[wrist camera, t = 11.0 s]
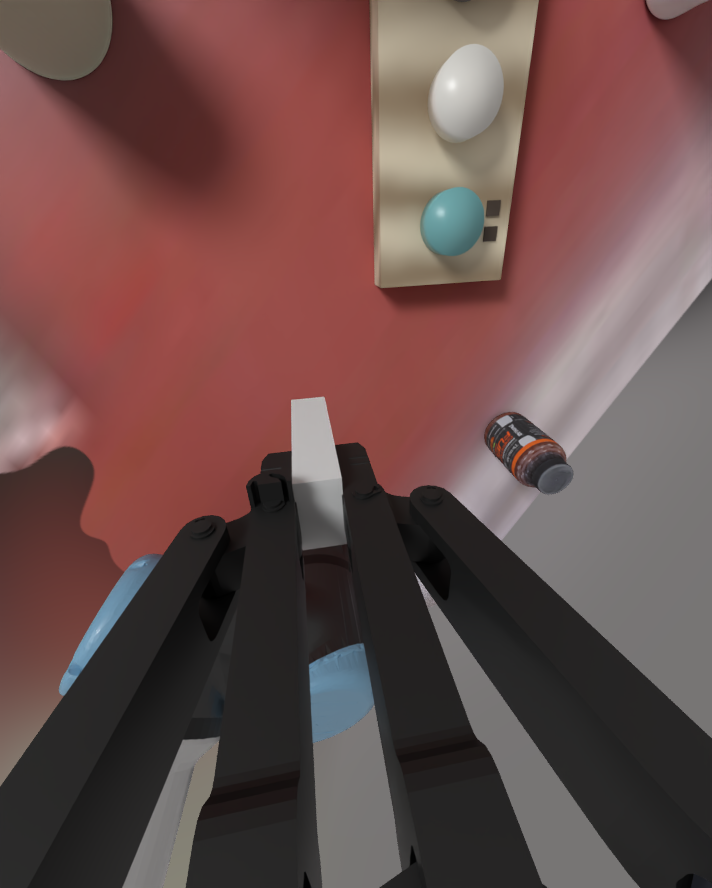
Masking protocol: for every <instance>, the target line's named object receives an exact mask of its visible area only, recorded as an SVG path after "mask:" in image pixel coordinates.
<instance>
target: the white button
mask: <svg viewBox="0 0 712 888" xmlns="http://www.w3.org/2000/svg"><path fill="white" fill-rule="evenodd" d="M503 89H504V80H503V73H502V69H501V66H500V63H499V61H498V59H497V58H496V56H495V55H494V53H493V52H492V51H491V50H489V49H488V48H487V47H485V46H483V45H479V44H469V45H465V46H463V47H461V48H460V49H458V50H457V51H455V52H454V53H453V54H452V55H451V56H450V58H449V59H448V60H447V61H446V62H445V63H444V64H443V65H442V66H441V68H440V69H439V70H438V72H437V73H436V75H435V77H434V78H433V81H432V83H431V86H430V90H429V95H428V113H429V118H430V121H431V124H432V126H433V128H434V130H435V131H436V133H437V134H438V135H439V136H440V137H441V138H442V139H444V140H446V141H448V142H451V143H461V142H464V141H466V140H469V139H470V138H472V137H474V136H476V135H478V134H480V133H481V132H483V131H484V130H485V129H486V128H487V127H488V126H489V125H490V124H491V123H492V121H493V120H494V118H495V117H496V115H497V113H498V111H499V108H500V105H501V102H502V97H503Z"/></svg>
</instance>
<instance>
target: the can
mask: <svg viewBox="0 0 712 888" xmlns="http://www.w3.org/2000/svg"><path fill="white" fill-rule="evenodd" d="M111 34H112V8H111V1H110V0H0V49H2V50H3V51H4V52H5V53H6V54H7V55H8V56H10V57H11V58H12V59H13V60H15V61H16V62H17V63H19V64H20V65H22V66H23V67H25V68H26V69H28V70H30V71H32V72H34V73H36V74H38V75H41V76H44V77H47V78H50V79H55V80H75V79H79V78H82V77H84V76H86V75H88V74H90V73H91V72H92V71H94V70H95V69H96V68H97V67H98V66H99V65H100V63H101V62H102V61H103V59H104V57H105V55H106V53H107V50H108V48H109V44H110V40H111Z"/></svg>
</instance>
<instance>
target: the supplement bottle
mask: <svg viewBox="0 0 712 888" xmlns="http://www.w3.org/2000/svg"><path fill="white" fill-rule="evenodd" d="M484 439H485V443H486V445H487V446H488V448H489V449H490V450H491V451H492V452H493V454H494V455H495V457H497V458H498V459H499V460H500V461H501V462H502V464H503V465H504V466H505V467H506V468H507V469H508V470H509V471H510V473H512V475H513V476H514V477H515V478H516V479H517V480H518V481H519V482H520V483H522V484H523V485H525V486H528V487H536V488H537V489H538V490H539V491H540V492H542V493H544V494H554V493H558V492H560V491H562V490H563V489H564V488H566V487H567V486H568V485H569V483H570V482H571V480H572V478H573V470H572V468H571V466H569V465H568V464H567V463H566V454H565V452H564V450H563V449H562V447H561V446H560V445H559V444H557V443H556V442H555V441H554V440H553V439H551V438H550V437H549V436H548V435H546V434H545V433H544V432H543V431H541V430H540V429H539V428H538V427H536V426H535V425H534V424H533V423H531V422H530V421H529V420H528V419H526V418H525V417H524V416H522V415H521V414H519V413H515V412H508V413H504V414H501V415H499V416H497V417H496V418H495V419H493V420H492V421H491V422H490V424H489V425H488V426H487V428H486V431H485V435H484Z"/></svg>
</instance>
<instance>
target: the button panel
mask: <svg viewBox="0 0 712 888" xmlns="http://www.w3.org/2000/svg"><path fill="white" fill-rule="evenodd" d="M538 2H539V0H471V1H467V2H457V1H454V0H370V52H371V106H372V160H373V214H374V268H375V285H377V286H378V287H380V288H389V287H403V286H418V285H432V284H446V283H461V282H475V281H489V280H501V273H502V266H503V259H504V251H505V244H506V237H507V229H508V222H509V215H510V207H511V200H512V193H513V185H514V178H515V171H516V163H517V156H518V149H519V141H520V134H521V127H522V120H523V112H524V105H525V98H526V90H527V83H528V76H529V68H530V61H531V54H532V46H533V39H534V32H535V24H536V17H537V10H538ZM469 44H479V45H483V46H485V47H487V48H488V49H489V50H491V51H492V52H493V53H494V55H495V56H496V58H497V59H498V61H499V63H500V66H501V69H502V73H503V80H504V89H503V97H502V102H501V105H500V108H499V111H498V113H497V115H496V117H495V118H494V120H493V121H492V123H491V124H490V125H489V126H488V127H487V128H486V129H485V130H484V131H483V132H481V133H480V134H478V135H476V136H474V137H472V138H470V139H469V140H466V141H464V142H461V143H451V142H448V141H446V140H444V139H442V138H441V137H440V136H439V135H438V134H437V133H436V131H435V130H434V128H433V126H432V124H431V121H430V118H429V113H428V95H429V90H430V86H431V83H432V81H433V78H434V77H435V75H436V73H437V72H438V70H439V69H440V68H441V66H442V65H443V64H444V63H445V62H446V61H447V60H448V59H449V58H450V56H451V55H452V54H453V53H454V52H455V51H457V50H458V49H460V48H461V47H463V46H465V45H469ZM455 187H464V188H468V189H470V190H472V191H473V192H474V193H476V195H477V196H478V197H479V199H480V200H481V202H482V205H483V208H484V226H483V230H482V232H481V235H480V237H479V239H478V240H477V242H476V243H475V244H474V246H473V247H472V248H471V249H469V250H468V251H467V252H465V253H463V254H461V255H457V256H446V255H440V254H436V253H434V252H432V251H431V250H430V249H429V248H428V247H427V246H426V245H425V243H424V241H423V239H422V236H421V231H420V221H421V216H422V213H423V210H424V208H425V206H426V204H427V203H428V202H429V200H430V199H431V198H432V197H433V196H435V195H436V194H437V193H439V192H441V191H444V190H448V189H451V188H455Z"/></svg>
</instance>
